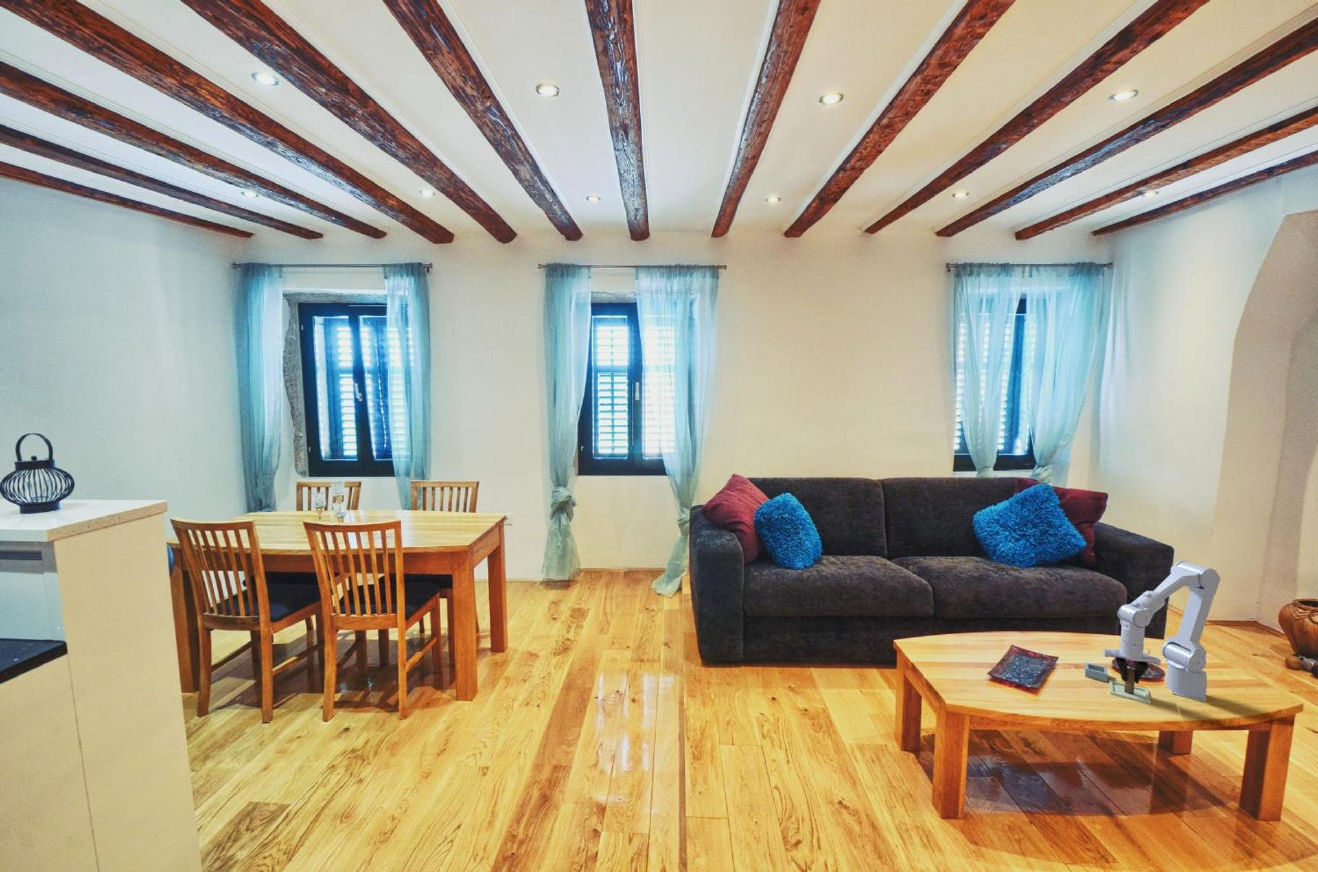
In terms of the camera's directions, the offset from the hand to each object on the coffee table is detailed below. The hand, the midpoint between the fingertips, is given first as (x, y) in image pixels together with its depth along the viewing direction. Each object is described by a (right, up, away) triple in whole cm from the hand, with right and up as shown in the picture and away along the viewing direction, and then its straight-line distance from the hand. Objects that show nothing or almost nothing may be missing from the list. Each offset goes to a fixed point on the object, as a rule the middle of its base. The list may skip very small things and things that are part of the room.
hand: (1129, 680), depth 178 cm
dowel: (0, -4, 0) cm, 4 cm away
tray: (0, -5, 0) cm, 5 cm away
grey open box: (-2, -4, +11) cm, 12 cm away
